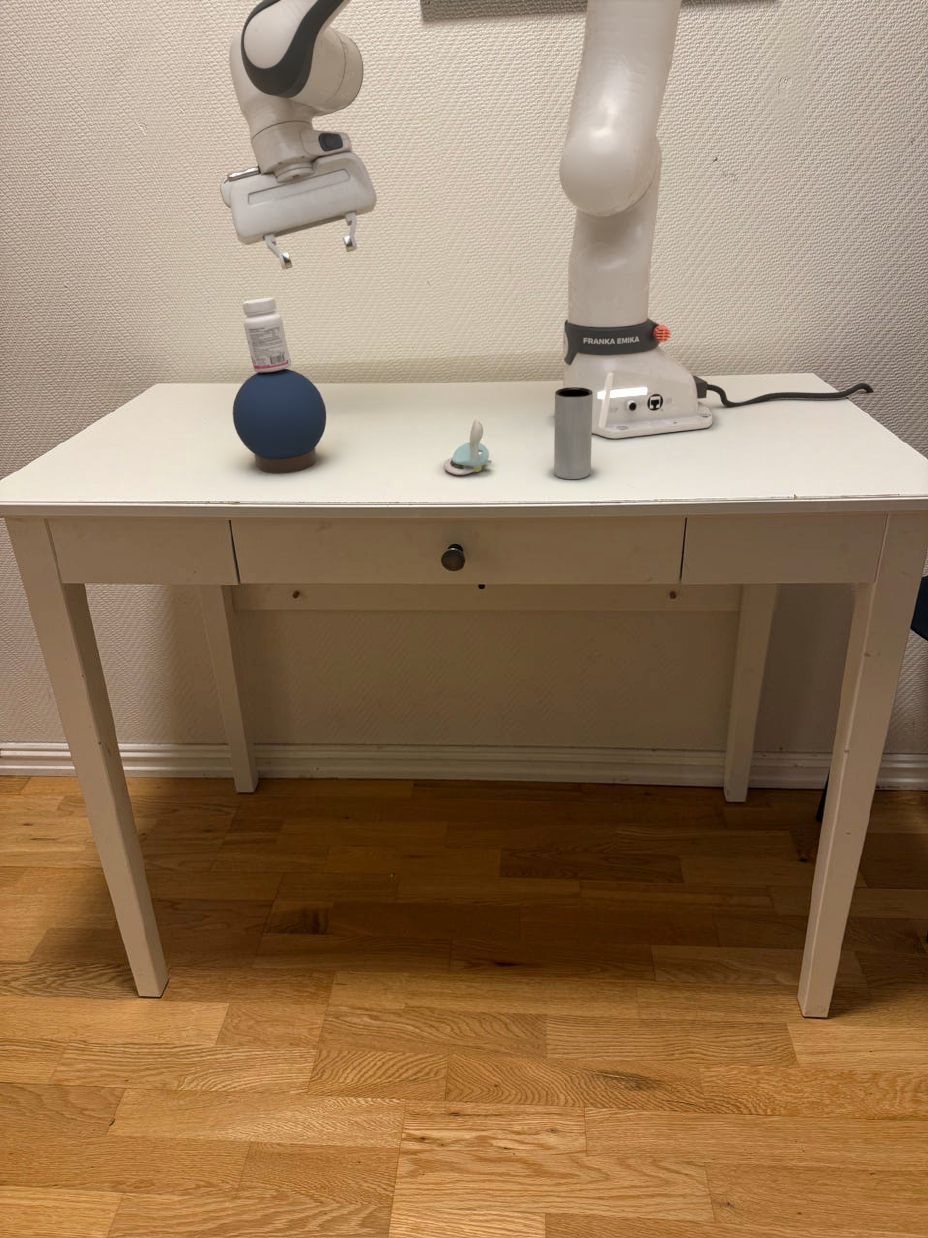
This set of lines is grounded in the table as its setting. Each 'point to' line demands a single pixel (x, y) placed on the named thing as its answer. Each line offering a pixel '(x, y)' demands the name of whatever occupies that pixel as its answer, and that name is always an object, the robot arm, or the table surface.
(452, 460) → the pacifier
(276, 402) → the ball
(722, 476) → the table surface
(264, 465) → the ball stand
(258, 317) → the pill bottle
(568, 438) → the grey cylinder
